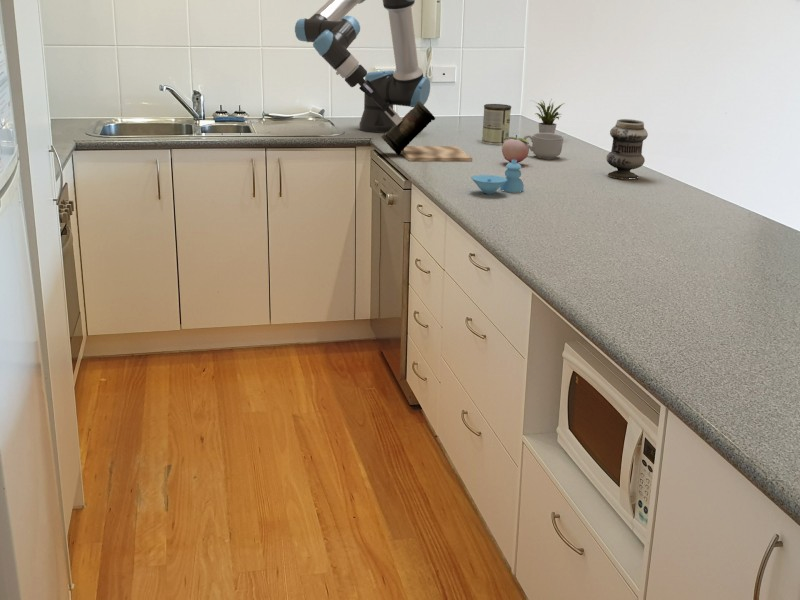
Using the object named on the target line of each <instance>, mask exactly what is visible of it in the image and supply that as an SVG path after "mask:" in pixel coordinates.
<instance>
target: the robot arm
mask: <svg viewBox="0 0 800 600" xmlns="http://www.w3.org/2000/svg"><path fill="white" fill-rule="evenodd" d="M365 1H366V0H327V2H325V4H323V5H322V6H321V7H320V8H319V9H318V10H317V11H316V12H315V13H314V14H312V15H311V16H310V17H309V18H299V19H298V20H297V21H296V23H295V24H294V25H295V26H294V33H295V37H296V39H297V40H298V41H300V42H306V43H313V44H312V47H313V48H314V49H315V51H316V52H317V53H318V54H319V56H321V58H323V59H324V60H325V62H326V63H328V65H329V66H330V67H331V68H332V69H333V70H335V71H336V72H335V74H336V75H337V76H338V75H339V76H340V77H341V78H342V79H344V81H345V82H346V83H347V85H348V86H349V87H351V88H354V87H356V86H357V85H359V90H360V91H361V92H363V94H364V95H363V96H364V97H363V99H364V103H363V105H364V106H363V112H362V115H361V117H360V122H359V125H358V128H359V130H360V131H363V132H369V133H386V132H388V131H389V130H390V129H391V128H392V127H393V126H395V125H398V124H399V123H400V122H401V121H402V117H401V116H400V115H399V114H398V113H397V112H396V110H394V106H400V107H401V106H402V107H410V108H414V107H415V105H417V102H418V101H420V102H421V103H422V104H423V105H424V106H425V104H426V103H427V101H428V98H429V97H430V93H431V80H430V79H429V78H428V77H426V76H424V71H423V69H422V68H421V67H419V62H418V61H419V60H418V55H417V54H418V53H417V44H416V35H415V28H414V20H413V13H412V7H413V6H414V5H415V1H416V0H382V4H383V6H382V7H383V8H384V9H385V10H387V12H388V18H389V26H390V35H391V40H392V48H393V49H392V50H393V55H394V63H395V71H394V70H379V71H371V72H370V71H369V72H368V71H367V69H366V68H365V67H364V66H363V65H362V64H359V61H358V60H357V59H356V58H355V56H354V55H353V54H352V53H351V52H350V51H349V49H348V48H349V47H350V45H351V44H352V43H353V42H354V41H355V40H356V39H357V37H358V35H359V34H360V31H361V25H360V23H359V21H358V20H357V19H356V18H355V17H354V16H352V15H348V13H349V12H350V11H352V9H354V7H356V6H357V5H359V4H362V3H364V2H365Z"/></svg>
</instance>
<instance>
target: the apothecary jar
mask: <svg viewBox="0 0 800 600" xmlns="http://www.w3.org/2000/svg"><path fill="white" fill-rule="evenodd" d="M609 135H610V136H611V137H612V145H611V150H610V152H609V153H608V154H606V157H605V158H606V159H605V160H606V161H607V164H609V165H610V166H611V167H613V168H615V169H616V170H613V171H612V172H608V173H607V176H608V177H609V176H611V177H610V178H612V177H615V178H614V179H617V178H623V179H622V180H624V179H629V178H637V177H639V175H637V174H636V173H634V172H632V171H631V170H635V169H639V168H640V167H642V166H644V164H645V161H646V160H645V157H644V156H643V154H642V153H643V145H644V144H643V143H644V141H645V140H647V138H648V136H649V132H648V130H646V128H645V123H644V121H642V120H638V119H637V120H636V119H631V118H630V119H629V118H627V119H626V118H623V119H617V120H616V123H615V126H613V127H611V129H610V131H609Z"/></svg>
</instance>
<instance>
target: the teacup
mask: <svg viewBox="0 0 800 600" xmlns="http://www.w3.org/2000/svg"><path fill="white" fill-rule="evenodd" d="M564 137H565V136H563V135H562V134H559V133H558V134H557V133H554V134H553V133H539V132H535V133H534V134H533V135H532V134H526V135H524V137H523V139H525V140H527V138H530V140H531V143H532V145H530V144H528V146H529V151H531V152H532V153H533V154H534V156H535V157H536V158H538V159H543V160H555V159H556V158H557V157H559V156H561V153H562V149H563V144H564V143H563V142H564Z"/></svg>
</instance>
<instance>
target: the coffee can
mask: <svg viewBox="0 0 800 600" xmlns="http://www.w3.org/2000/svg"><path fill="white" fill-rule="evenodd" d="M483 107H484V108H483V119H482V120H483V124H482V137H481V138H482V140H481V143H482V144H486V145H492V146H493V145H494V146H503V143H504V142H505V141H506V140H507V139H505V140H503V139H504V138H506V137H510V125H511V122H510V121H511V112H512V106H511V105H509V104H503V103H487V104H484V105H483ZM508 139H509V138H508Z"/></svg>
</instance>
